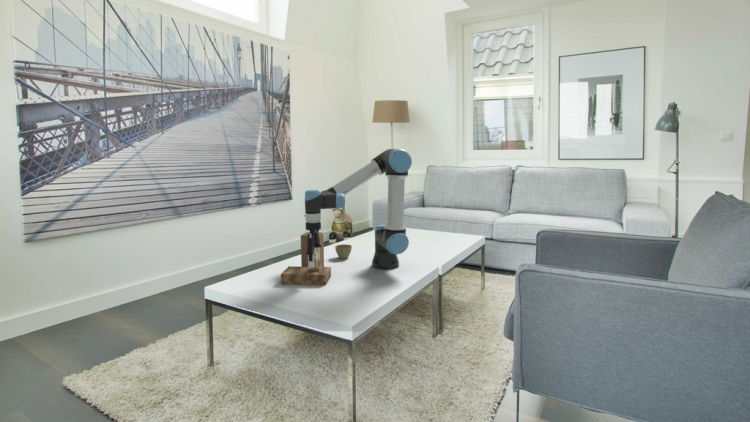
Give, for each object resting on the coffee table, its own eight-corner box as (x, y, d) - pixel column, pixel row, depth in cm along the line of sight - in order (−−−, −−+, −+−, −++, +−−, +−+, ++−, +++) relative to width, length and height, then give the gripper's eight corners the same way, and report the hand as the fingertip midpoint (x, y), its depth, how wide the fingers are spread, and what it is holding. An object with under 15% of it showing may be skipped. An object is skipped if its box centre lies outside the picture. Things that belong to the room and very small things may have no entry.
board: (331, 276, 222) (330, 266, 221) (326, 284, 208) (325, 274, 208) (289, 275, 224) (288, 266, 223) (281, 284, 210) (280, 274, 209)
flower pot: (335, 256, 264) (335, 244, 263) (351, 255, 265) (351, 244, 264) (335, 260, 254) (335, 248, 253) (352, 259, 255) (352, 247, 254)
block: (318, 272, 229) (317, 235, 226) (301, 271, 231) (299, 235, 228) (324, 267, 239) (323, 232, 236) (307, 266, 241) (306, 231, 238)
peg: (319, 279, 217) (318, 252, 215) (317, 281, 214) (316, 253, 212) (311, 279, 218) (311, 252, 216) (310, 281, 214) (309, 253, 212)
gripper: (311, 217, 224) (312, 257, 227) (299, 226, 199) (300, 270, 202) (325, 217, 223) (326, 257, 226) (315, 226, 199) (316, 270, 202)
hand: (314, 263), depth 214 cm, fingers open, 13 cm apart
